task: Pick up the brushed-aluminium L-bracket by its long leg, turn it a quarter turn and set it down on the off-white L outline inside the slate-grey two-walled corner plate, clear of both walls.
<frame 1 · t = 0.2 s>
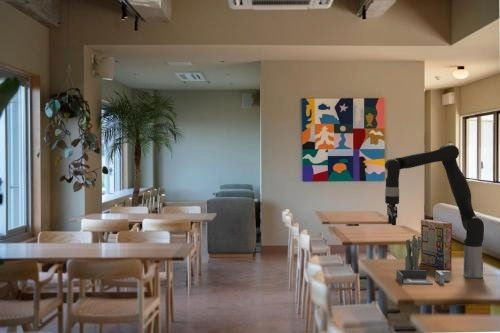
hand: (392, 224, 301), 29 cm above the table, tool pointing down, fingers open, 8 cm apart
board game box: (435, 266, 326), on the table
l bracket: (438, 280, 291), on the table
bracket: (412, 271, 313), on the table
grey l-shaped slot base: (414, 281, 288), on the table
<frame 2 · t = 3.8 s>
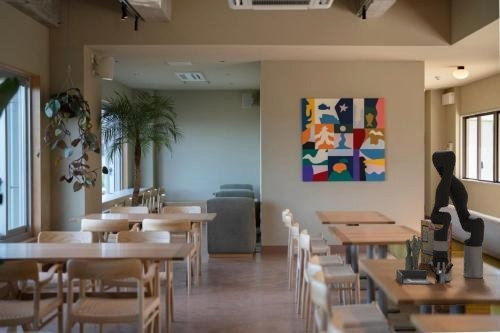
hand: (440, 281, 287), 0 cm above the table, tool pointing down, fingers closed on l bracket
l bracket: (438, 280, 291), on the table, touching gripper
everything else where it was.
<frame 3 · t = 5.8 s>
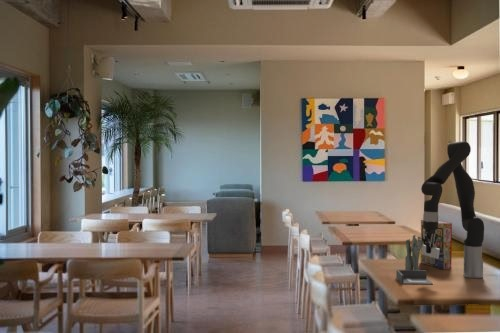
hand: (429, 252, 285), 16 cm above the table, tool pointing down, fingers closed on l bracket
l bracket: (423, 254, 287), point 15 cm above the table, tilted 7°, touching gripper
everything else where it was.
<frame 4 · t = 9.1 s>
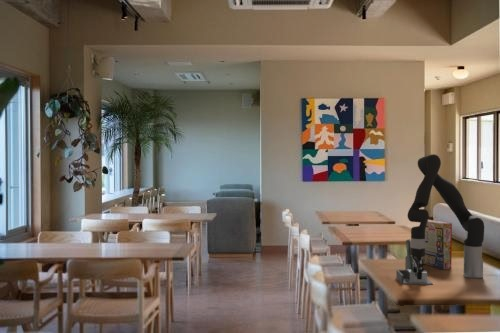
hand: (417, 277, 285), 3 cm above the table, tool pointing down, fingers open, 8 cm apart
l bracket: (411, 281, 285), point 1 cm above the table, touching grey l-shaped slot base
everything else where it was.
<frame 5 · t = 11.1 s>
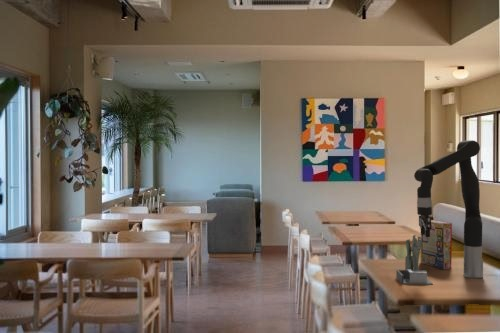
hand: (425, 235, 292), 24 cm above the table, tool pointing down, fingers open, 8 cm apart
nothing on the table moved.
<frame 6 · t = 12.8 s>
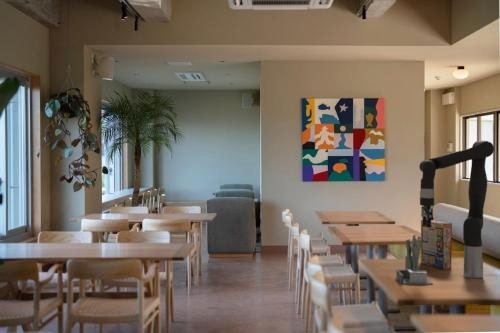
hand: (426, 226, 297), 28 cm above the table, tool pointing down, fingers open, 8 cm apart
nothing on the table moved.
at the end: l bracket 0.4 cm from the target spot, point 0.7 cm above the table; l bracket tilted 0°; the gripper is holding nothing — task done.
